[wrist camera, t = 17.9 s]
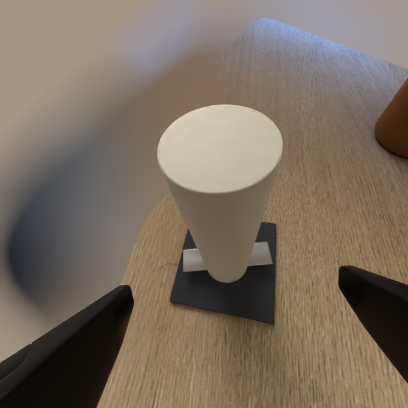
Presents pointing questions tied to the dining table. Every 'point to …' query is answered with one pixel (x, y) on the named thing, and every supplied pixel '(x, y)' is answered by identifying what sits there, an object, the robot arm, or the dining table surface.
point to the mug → (395, 124)
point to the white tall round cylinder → (222, 185)
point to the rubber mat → (231, 285)
